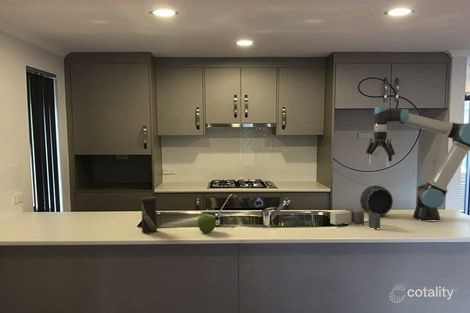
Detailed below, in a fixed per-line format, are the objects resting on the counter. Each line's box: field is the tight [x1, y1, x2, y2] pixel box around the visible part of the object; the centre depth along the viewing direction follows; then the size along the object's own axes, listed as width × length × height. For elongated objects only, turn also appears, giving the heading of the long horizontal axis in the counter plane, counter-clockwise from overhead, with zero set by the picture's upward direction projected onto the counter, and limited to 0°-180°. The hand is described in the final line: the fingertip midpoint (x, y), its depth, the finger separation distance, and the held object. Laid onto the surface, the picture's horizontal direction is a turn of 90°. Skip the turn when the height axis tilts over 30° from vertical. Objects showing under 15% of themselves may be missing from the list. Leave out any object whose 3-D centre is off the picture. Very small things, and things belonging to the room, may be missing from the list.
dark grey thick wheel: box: [359, 184, 394, 217], centre depth 242 cm, size 11×20×20 cm, turn 96°
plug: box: [329, 208, 354, 226], centre depth 224 cm, size 18×6×7 cm, turn 117°
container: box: [140, 195, 158, 234], centre depth 206 cm, size 9×9×20 cm
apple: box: [197, 214, 217, 234], centre depth 204 cm, size 11×10×10 cm
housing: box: [352, 208, 381, 229], centre depth 216 cm, size 4×17×9 cm, turn 27°
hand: (379, 165), depth 228 cm, fingers open, 13 cm apart
